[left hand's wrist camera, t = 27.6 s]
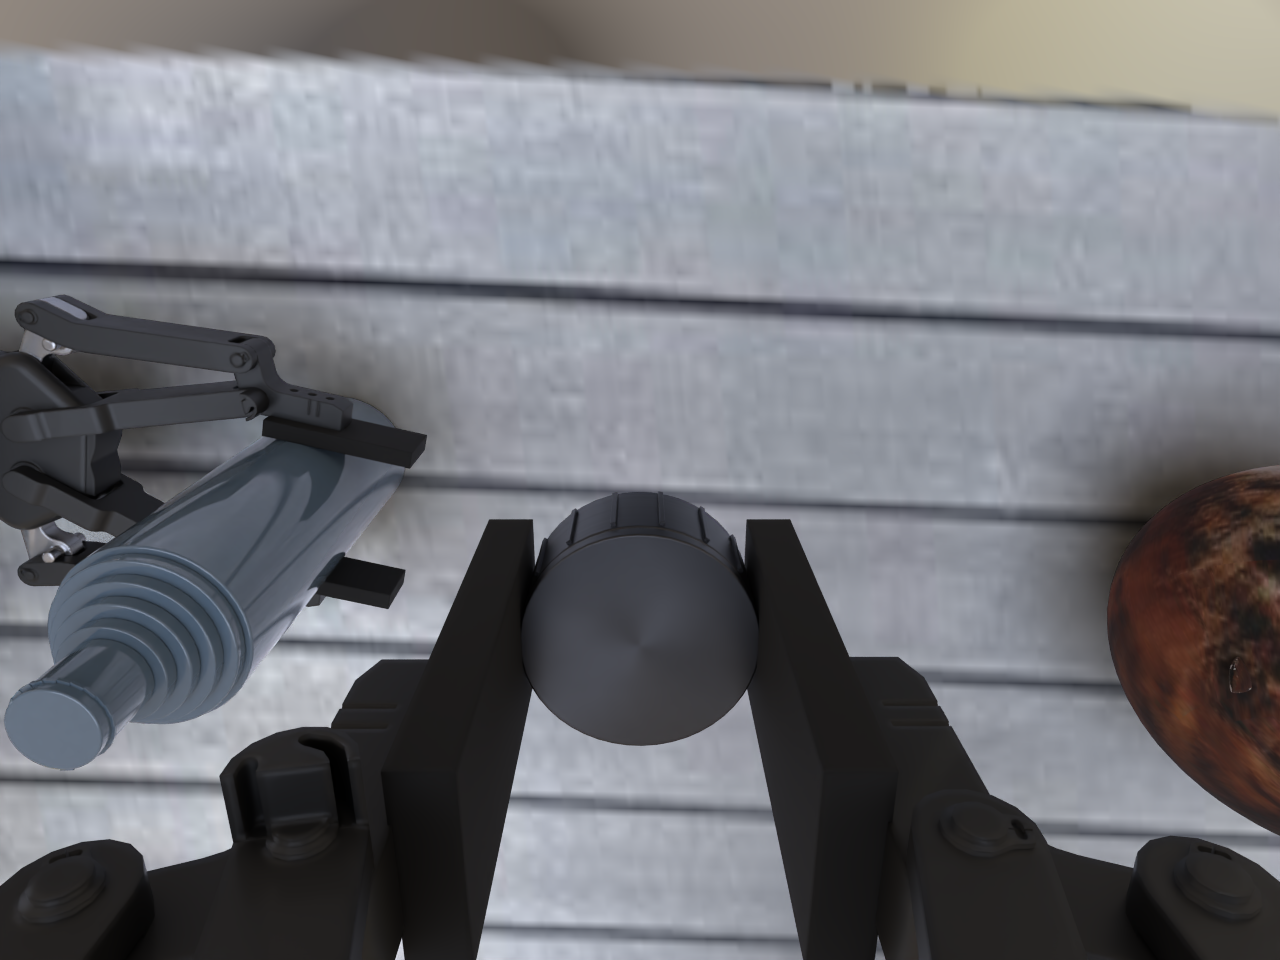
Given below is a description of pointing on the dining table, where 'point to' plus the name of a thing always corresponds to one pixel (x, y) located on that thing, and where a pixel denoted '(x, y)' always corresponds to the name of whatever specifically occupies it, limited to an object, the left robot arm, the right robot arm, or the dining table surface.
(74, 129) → the dining table surface
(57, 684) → the bottle
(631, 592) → the cap
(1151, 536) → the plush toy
